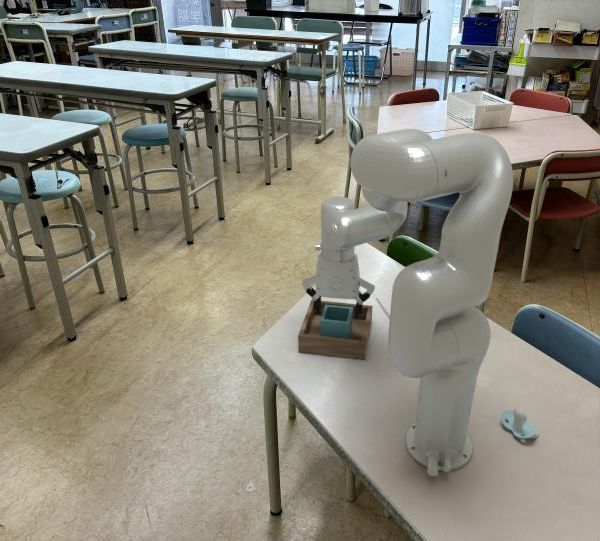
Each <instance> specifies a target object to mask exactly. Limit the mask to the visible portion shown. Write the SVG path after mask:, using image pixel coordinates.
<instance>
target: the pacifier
mask: <svg viewBox="0 0 600 541" xmlns="http://www.w3.org/2000/svg"><path fill="white" fill-rule="evenodd" d="M500 420H501V424H502V425H503V426H504V427H505V428H506V429H507V430H509V431H511V433H512V434H513V435H514V437H515V438H518V439H522V440H524V439H535V438H537V437H538V436H539V430H538V428H537V427H536V425H535V424H533V423H532V422H531V420H529V419H528V418H527V414H526V413H525V412H524V410H523V409H522V408H520V407H516V406H515V407H514V409H513V411H512V410H505V411H502V413H501V416H500ZM507 421H508V422H507Z"/></svg>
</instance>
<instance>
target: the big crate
mask: <svg viewBox="0 0 600 541" xmlns="http://www.w3.org/2000/svg"><path fill="white" fill-rule="evenodd" d="M325 305H334V306H344V307H353V327H352V331H351V336H350V339H344V338H335V337H326V336H321V333H320V320H321V317H322V314H323V311H324V307H325ZM373 308H374V306H373V305H367V304H363V311H362V314H359V319H357V318H356V303H347V302H336V301H326V300H321V311H320V314H319V315H316V310H314V301H313V300H312V299H311V300H310V303H309V305H308V307H307V311H306V313H305V316H304V319H303V321H302V324H301V326H300V329H299V332H298V336H297V340H298V344H297V345H298V347H297V348H298V353H299V354H308V355H317V356H324V357H333V358H340V359H350V360H357V361H366V355H367V350H368V344H369V339H370V333H371V328H372V323H373V322H372V321H373Z"/></svg>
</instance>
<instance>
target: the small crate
mask: <svg viewBox="0 0 600 541" xmlns="http://www.w3.org/2000/svg"><path fill="white" fill-rule="evenodd" d="M352 327H353V307H344V306H334V305H325V307H324V311H323V314H322V317H321V320H320V333H321V336H326V337H335V338H344V339H350V336H351V331H352Z"/></svg>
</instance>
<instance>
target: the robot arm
mask: <svg viewBox="0 0 600 541" xmlns="http://www.w3.org/2000/svg"><path fill="white" fill-rule="evenodd" d="M350 169H351V170H350V172H351V173H352V176H353V178H354V181H356V183H357V184H358V185H359V186H361V188H360V189H361V194H362V197H363V198H364V200H365V202H367V203H368V204H369V205H367V206H363V207H358V208H356V205H355V203H354V202H353V200H352V199H350V198H348V197H346V196H345V197H344V196H331V197H328V198H326V199H325V200H323V201H322V203H321V206H320V225H321V226H320V229H321V230H320V234H321V235H320V236H321V239H320V240H321V243H320V244H315V248H314V250H315V251H318V252H320V253H319V255H318V257H317V262H316V270H315V275H313V276H311V277H308V278H305V279H302V282H301V284H302V286H303V289H304V290H305V292H306V294H307V295H308V296H309V297H311V300H313V301H314V310H316V315H319V314H320V311H321V301H322V298H329V299H339V300H340V299H342V300H354V301H355V302H356V303H355V304H356V318H357V319H359V314H362V311H363V305H364V303H365V302H366V301H368V299H370V297H371V296H372V293H374V292H375V288H376V286H375V284H373V283H371V282H368V281H367V280H365V279H363V278H361V275H360V264H359V259H358V255H357V254H356V253H355V247H357V246H361V245H364V244H367V243H371V242H375V241H380V240H383V239H386V238H388V237H390V236H392V235H393V234H394V233H395V232H396V231H397V230H399V228H400V227H401V226H402V225H403V223H404V222H405V221H406V220H407V217H408V216H407V215H408V203H417V202H423V201H428V200H432V199H437V198H441V197H444V196H449V195H452V194H457V193H459V196H458V199H457V201H456V202H455V203H454V204H453V205H452V208H451V209H450V210H449V212H448V214H447V216H446V218H445V220H444V223H443V225H442V228H441V237H440V238H441V239H440V245H439V248H438V251H437V253H436V254H435V255H433V256H432V257H430V258H427V259H424V260H420V261H416V262H413V263H412V264H411V263H410V264H409V265H407V266H406V267H404V268H403V269H402V270H401V269H400V270H401V271H399V272H398V274H397V275H396V277H395V279H394V281H393V284H392V290H391V301H390V311H389V312H390V313H389V315H390V319H389V325H388V326H389V327H388V351H389V356H390V359H391V361H392V364H393V366H394V367H395V369H396V370H397V372H399V374H401V375H403V377H406V378H409V379H420V381H419V383H420V384H419V389H418V391H419V392H418V400H417V408H416V419H415V422H414V423H412V424H411V425H410V426H409V428H408V429H407V431H406V435H405V446H406V450H407V451H408V453H409V455H411V457H412V458H413V459H414V460H415V461H417V462H418V464H421V465H422V466H423V467H426V468H427V470H426V472H427V475H429V476H431V477H437V476H438V475H439V471H441V472H446V473H450V472H451V471H456V470H458V469H461V468H463V467H464V466H465V465H467V464H468V462H469V461H470V460H471V458H472V454H473V448H474V447H473V446H474V445H473V442H472V439H471V437H470V436H469V434H468V429H469V424H470V418H471V412H472V407H473V402H474V395H475V392H476V385H477V382H478V377H479V376H478V375H479V372H480V369H481V366H482V363H483V362H484V359H485V357H486V355H487V353H488V350H489V347H490V344H491V338H492V337H491V332H492V331H491V327H490V322H489V320H488V318H487V316H486V315H485V314H484V312H483V311H481V309H479V308H477V307H478V306H480V305H481V304H483V302H485V301H486V299H487V298H488V296H489V294H490V290H491V286H492V283H493V282H492V281H493V277H494V271H495V267H496V261H497V255H498V249H499V244H500V238H501V232H502V228H503V226H504V222H505V219H506V215H507V212H508V209H509V206H510V202H511V198H512V193H513V189H514V172H513V166H512V162H511V160H510V157H509V155H508V152H507V151H506V149H505V147H504V146H503V145H502V144H501V142H499V141H498V140H497V139H496V138H494V137H492V136H490V135H487V134H483V133H475V132H474V133H473V132H472V133H471V132H470V133H459V134H453V135H448V136H444V137H438V138H434V139H433V137H432V136H431V135H429V134H428V133H427V132H425V131H423V130H421V129H416V128H404V129H399V130H394V131H388V132H382V133H375V134H370V135H367V136H365V137H363V138H361V139H360V140H359V141H358V142H357V143H356V144H355V146H354V148H353V149H352V153H351V156H350ZM312 284H315V288H313V287H312V286H311V285H312ZM360 287H362V288H364V289H365V290H366V291H365V292H364V293H362V291H361V290H360Z"/></svg>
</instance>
